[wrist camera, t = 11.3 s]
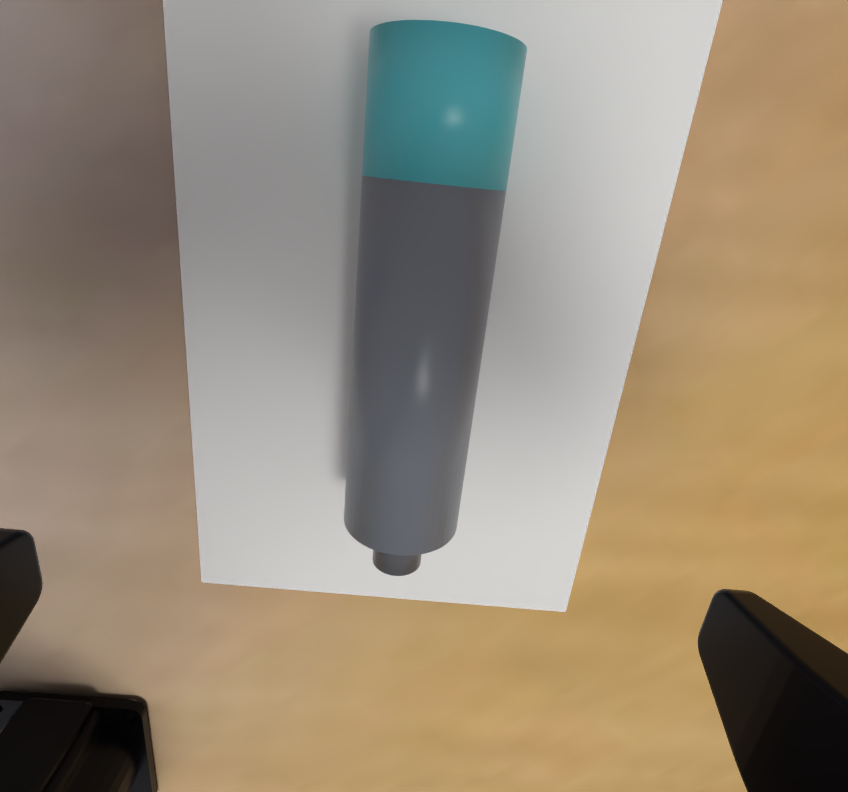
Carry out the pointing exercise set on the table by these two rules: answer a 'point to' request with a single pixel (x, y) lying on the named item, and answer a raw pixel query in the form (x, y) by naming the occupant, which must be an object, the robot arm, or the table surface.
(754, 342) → the table surface
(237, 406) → the paper sheet
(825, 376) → the table surface
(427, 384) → the marker
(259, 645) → the table surface
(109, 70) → the table surface
